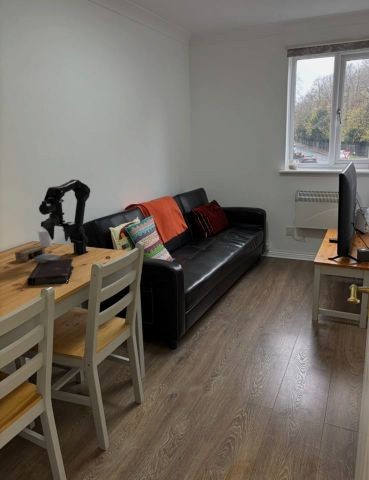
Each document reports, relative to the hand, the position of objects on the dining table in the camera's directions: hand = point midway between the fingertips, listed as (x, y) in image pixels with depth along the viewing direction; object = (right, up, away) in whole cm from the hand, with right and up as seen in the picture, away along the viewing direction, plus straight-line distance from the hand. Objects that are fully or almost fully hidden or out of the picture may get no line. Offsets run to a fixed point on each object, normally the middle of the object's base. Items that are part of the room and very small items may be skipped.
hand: (59, 240), depth 209 cm
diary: (+3, -18, -19) cm, 26 cm away
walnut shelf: (-19, -10, +11) cm, 24 cm away
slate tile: (-8, -11, +7) cm, 15 cm away
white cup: (-20, -4, +36) cm, 41 cm away
